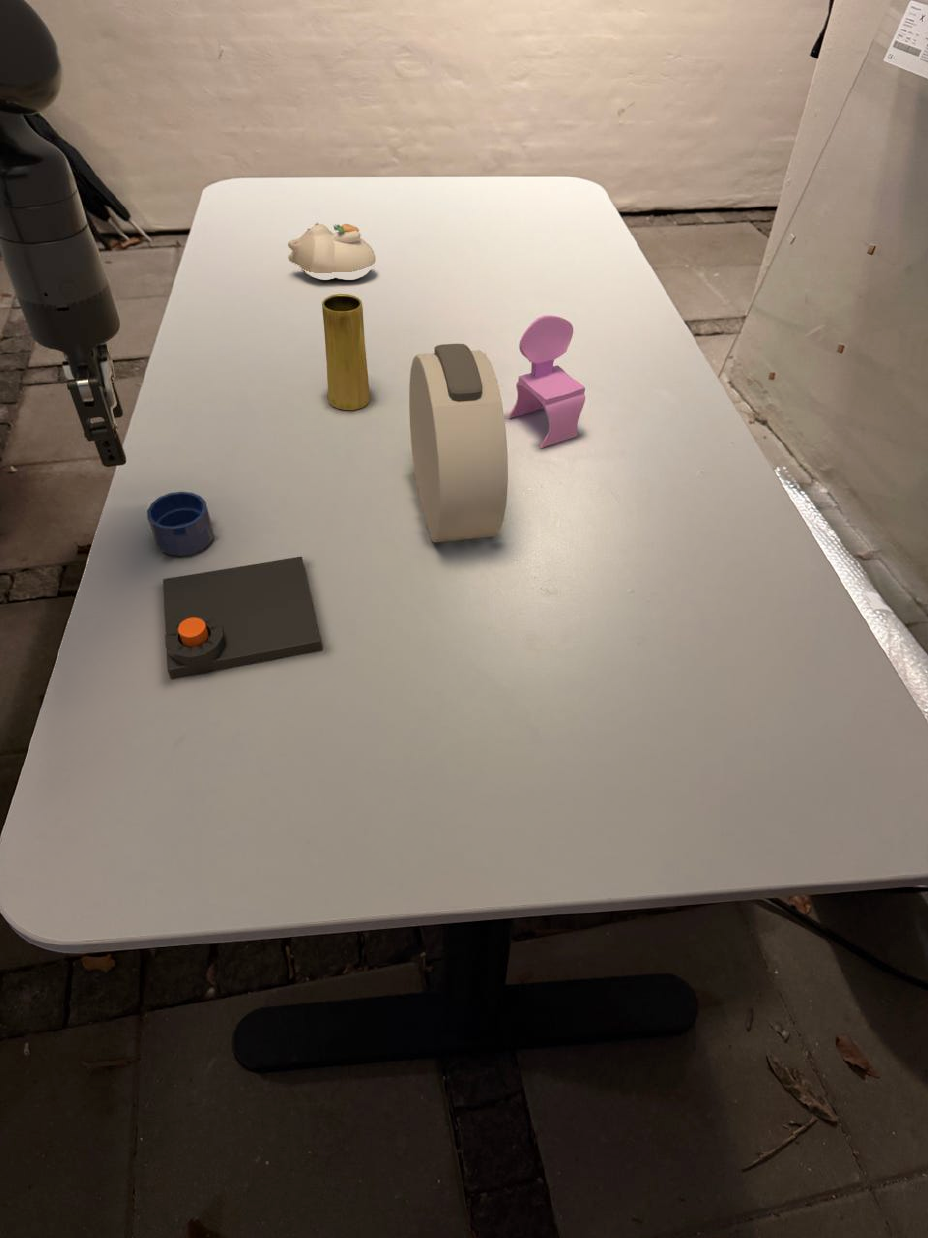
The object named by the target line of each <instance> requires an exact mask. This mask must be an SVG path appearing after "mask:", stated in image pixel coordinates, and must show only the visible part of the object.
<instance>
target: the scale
mask: <svg viewBox="0 0 928 1238" xmlns="http://www.w3.org/2000/svg"><path fill="white" fill-rule="evenodd" d="M162 586H163V587H162V588H163V603H164V604H163V607H164V625H165V627H164V628H165V635H164V642H165V648H166V662H167V663H166V664H167V672H168V674H169V677H170V679H177V678H182V677H186V676H192V675H197V674H198V675H199V674H202V673H207V672H212V671H218V670H223V669H229V668H234V667H239V666H245V665H250V664H256V663H260V662H266V661H270V660H276V659H280V658H285V657H292V656H296V655H302V654H307V653H312V652H318V651H322V650H323V645H322V640H321V635H320V629H319V625H318V621H317V618H316V613H315V608H314V604H313V600H312V596H311V590H310V586H309V581H308V577H307V574H306V568H305V564H304V559H303V557H302V556H295V557H289V558H283V559H277V560H271V561H265V562H259V563H252V564H247V565H242V566H235V567H229V568H223V569H216V570H211V571H204V572H199V573H198V572H197V573H192V574H186V575H179V576H173V577H167V578H163V579H162ZM193 617H195V618H200V619H202V620H203V621H204V622H205V625H206V628H207V631H208V639H207V641H206V642H205V643H204V644H202V645H200V646H197V647H188V646H186V645H184V644H183V643H182V641H181V638H180V635H179V632H178V627H179V625H180V623H181V622H182V621H184V620H186V619H188V618H193Z"/></svg>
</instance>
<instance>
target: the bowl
mask: <svg viewBox="0 0 928 1238" xmlns="http://www.w3.org/2000/svg"><path fill="white" fill-rule="evenodd" d="M146 519H147V521H148V524H149V528H150V531H151V533H152V537H153V539H154V542H155V544H156V547H158V549H159V550H160V551H161V552H164V553H166V554H168V555H173V556H178V557H183V556H190V555H194V554H197V553H199V552H201V551H202V550H204V549H205V548H206V547H207V546H208V545H210V543H211V542H212V540H213V538H214V528H213V524H212V521H211V517H210V512H209V508H208V505H207V502H206V500H205V499H204V498H203V497H202V496H201V495H199V494H197V493H195V492H190V491H175V492H169V493H166V494H164V495H161V496H159V497H158V498H156V499H155V500H153V501H152V502H151V503H150V504H149V506H148V508H147V510H146Z"/></svg>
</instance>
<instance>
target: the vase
mask: <svg viewBox="0 0 928 1238" xmlns="http://www.w3.org/2000/svg"><path fill="white" fill-rule="evenodd" d="M321 311H322V321H323V332H324V344H325V359H326V380H327V401H328V403H329V404H330V406H332V407H333V408H335V409H337V410H342V411H355V410H360V409H363V408H365V407H367V406H368V404H370V402H371V400H372V399H371V393H370V382H369V372H368V371H369V370H368V361H367V360H368V359H367V349H366V339H365V337H366V336H365V324H364V322H365V321H364V307H363V302H362V300H361V299H360V298H359V297H358V296H355V295H353V294H348V293H347V294H346V293H338V294H331V295H329V296H327V297H325V298H324V299H323V300H322V302H321Z"/></svg>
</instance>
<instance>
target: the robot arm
mask: <svg viewBox="0 0 928 1238" xmlns="http://www.w3.org/2000/svg"><path fill="white" fill-rule="evenodd" d="M64 74H65V73H64V64H63V60H62V56H61V53H60V50H59V47H58V45H57V41H56V40H55V38H54V36H53V34H52V32H51V31H50V29H49V27H48V26H47V24H46V22H45V21H44V20H43V19H42V17H41V16H40V15H39V13H37V12H36V10H35V9H34V7H32V6H31V5H30V4H29V3H28V2H27V1H26V0H0V254H1V258H2V261H3V264H4V268H5V270H6V272H7V275H8V278H9V280H10V283H11V285H12V288H13V290H14V294H15V296H16V298H17V301H18V304H19V306H20V309H21V312H22V314H23V317H24V319H25V322H26V325H27V327H28V330H29V332H30V335H31V337H32V338H33V340H34V341H35V342H36V343H37V344H39V346H41V347H44V348H45V349H49V350H54V351H58V352H61V353H62V355H63V358H64V360H61V365H62V371H63V374H64V377H65V378H66V379H67V383H66V387H67V391H69V393H70V397H71V398H72V399H71V400H72V401H73V404H74V407H75V410H76V414H77V415H78V418H79V421H80V424H81V427H82V429H83V437H84V439H86V441H87V442H94V445H95V448H96V450H97V453H98V456H99V459H100V462H101V465H102V466H103V467H105V468H111V467H119V466H123V465H125V464H126V463H127V455H126V452H125V450H124V447H123V444H122V440H121V438H120V435H119V432H118V429H119V425H118V423H117V422H116V419H119V418H121V417H123V415H124V409H123V406H122V403H121V400H120V396H119V394H118V391H117V388H116V385H115V378H116V375H115V373H116V372H115V365H114V361H113V358H112V354H111V351H110V346H109V344H108V342H109V341H111V340H112V339H113V338H114V337H115V336H116V335H117V334H118V332H119V330H120V328H121V321H120V318H119V314H118V310H117V308H116V304H115V301H114V297H113V294H112V290H111V286H110V283H109V280H108V276H107V274H106V270H105V266H104V263H103V260H102V256H101V253H100V250H99V247H98V244H97V242H96V240H95V238H94V235H93V234H92V231H91V228H90V226H89V222H88V220H87V217H86V213H85V209H84V206H83V203H82V198H81V195H80V193H79V188H78V187H77V182H76V180H75V175H74V174H73V170H72V168H71V166H70V162H69V161H68V159H67V157H66V155H65V154H64V153H63V152H62V150H60V148H58V147H57V146H56V145H54V143H51V142H50V141H48V140H47V139H45V138H43V137H42V136H40V135H39V134H38V133H37V132H36V131H35V130H34V129H33V128H32V127H31V126H30V125H29V124H28V122H27V120H26V119H25V117H24V116H31V115H37V114H39V113H42V112H44V111H47V109H49V108H50V107H51V106H52V105H54V104H55V102H57V99H58V98H59V96H60V94H61V92H62V90H63V89H62V88H63V85H64ZM97 418H102V419H103V421H96V422H94V421H93V419H97Z"/></svg>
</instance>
